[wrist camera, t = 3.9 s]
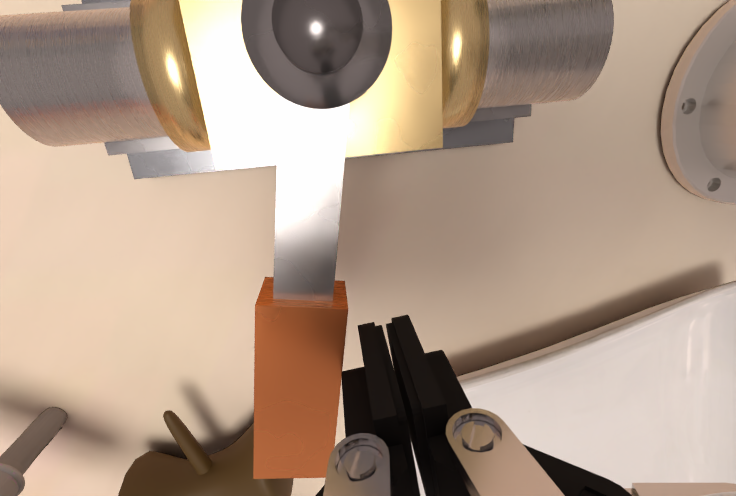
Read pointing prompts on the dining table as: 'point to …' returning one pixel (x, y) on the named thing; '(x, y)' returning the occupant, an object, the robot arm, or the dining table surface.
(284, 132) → the lever
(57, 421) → the mechanical component
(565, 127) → the dining table surface
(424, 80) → the ball valve
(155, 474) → the kendama
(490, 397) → the square plate
